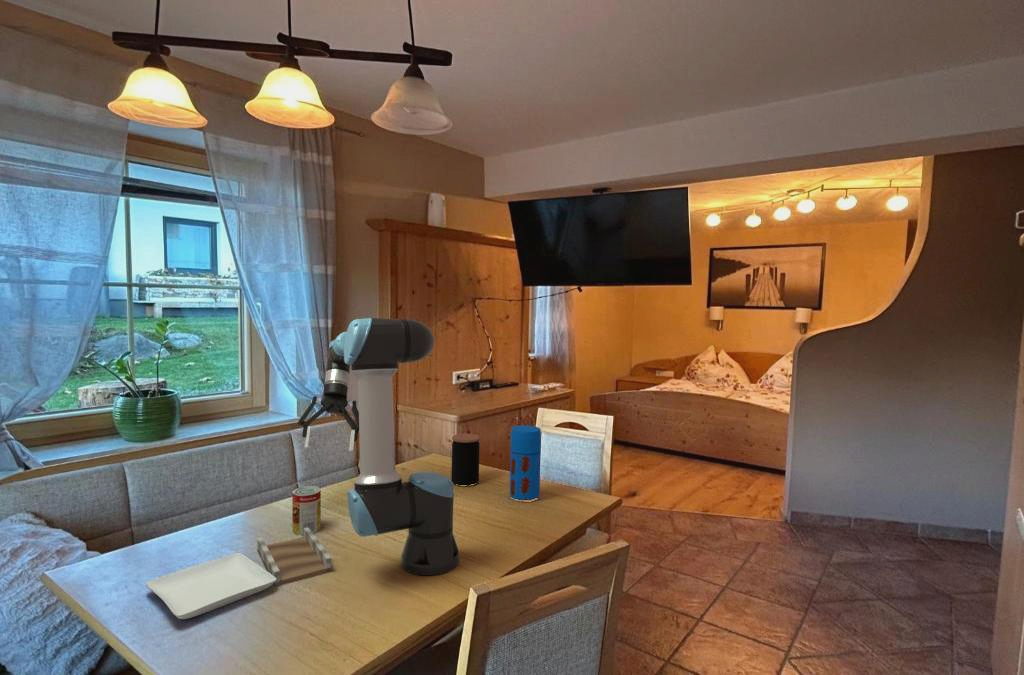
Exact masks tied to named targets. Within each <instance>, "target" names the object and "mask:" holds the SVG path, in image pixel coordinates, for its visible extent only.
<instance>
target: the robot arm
mask: <svg viewBox="0 0 1024 675" xmlns="http://www.w3.org/2000/svg"><path fill="white" fill-rule="evenodd" d="M434 348H435V335H434V332H433V331H432V330H431V328H430V327H429V326H427V325H426V324H425V323H423V322H421V321H418V320H415V319H411V318H381V317H380V318H376V317H375V318H374V317H372V318H371V317H368V318H356V319H354V320H352V321H351V322H350V323H349V325H348V328H347V329H346V331H343V332H341V333H340V334H339V335H337V336H336V338H335V339H333V340H331V341H330V343H329V346H328V350H327V361H326V368H325V369H326V371H325V378H324V386H323V391H322V398H321V397H317V396H316V395H315V396H313V397H312V399H311V403H310V404H309V406H308V407H307V408H306V410H304V413H302V415H301V417H300V419H298V422H297V425H298V426H301V427H302V432H301V433H302V434H301V435H302V438H304V448H303V450H307V449H308V448H309V442H310V433H311V426H310V425H312V423H314V422H315V421H316V420H317V419H319V417H320V416H321V415H322V414H324V413H327V414H335V415H338V414H340V415H341V416H342V417H343V419H344V420H345V421H346V423H347V424H348V425H349V427H350V428H351V429H352V430H351V431H350V437H349V438H350V440H349V448H348V452H349V453H352V452H353V451H354V444H355V442H357V441H358V437H359V458H360V459H359V463H360V464H359V467H360V469H359V470H360V474H359V475H358V476H357V477H356V478H355V479H354V484H353V486H354V488H351V489H349V490H348V492H347V507H348V514H349V517H350V521H351V525H352V528H353V529H354V532H355V533H356V534H357V535H358V536H359V537H371V536H375V537H376V536H378V535H383V534H389V533H393V532H398V531H404V530H408V532H407V533H408V534H407V536H406V540H405V543H404V546H403V550H402V552H401V558H400V559H401V562H400V565H401V567H402V568H403V569H404V570H405V571H407V572H408V573H410V574H414V575H419V576H436V575H437V576H438V575H442V574H444V573H448V572H450V571H452V570H454V568H456V567H457V566H458V564H459V562H460V551H459V547H458V545H457V542H456V541H457V540H456V538H455V535H454V530H453V529H454V498H455V494H454V484H453V482H452V480H451V478H450V477H448V476H447V475H444V474H441V473H438V472H432V471H417V472H414V473H411V474H409V476H408V479H407V480H408V481H403V479H402V475H401V474H399V473H398V471H397V470H396V452H395V451H396V449H395V448H396V446H395V418H394V417H395V416H394V391H393V390H394V386H393V383H394V382H393V377H394V375H395V374H396V373H397V372H398V371H399V364H407V363H413V362H414V363H415V362H417V361H421V360H423V359H425V358H427V357H428V356H429V355H430V354H431V353H432V351H433V349H434ZM350 368H351V373H352V374H353V375H354V376H355V377H356V378H357V393H358V407H357V400H353V401H348V398H347V397H348V389H349V381H350V380H349V379H350ZM319 403H320V405H321V406H322V407H321V408H320V409H319V410H318V411H316V412H315V413H314V414H313V415H312V416H310V417H309V419H308V420H306V419H307V417H308V416H309V414H310V413H311V411H312V410H313V409H314V407H315V405H318V404H319ZM347 406H348V407H349V409H351V412H352V415H353V417H354V419H353V418H352V416H350V414H349V412H348V411H347V410H348V409H346V407H347ZM305 420H306V421H305Z"/></svg>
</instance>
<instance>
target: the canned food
mask: <svg viewBox="0 0 1024 675" xmlns="http://www.w3.org/2000/svg"><path fill="white" fill-rule="evenodd" d="M321 490H322V489H321V488H320V487H319V486H313V485H312V486H311V485H309V486H307V485H306V486H300V487H297V488H295V489H294V490H292V493H291V494H292V510H291V511H292V514H291V515H292V522H291V524H292V525H291V526H292V533H293V534H294V535H296V536H304V528H309V529H310V530H311V532H312V533H313V534H316V533H318V532H320V530H321V528H322V527H321V526H322V524H321V521H322V520H321V517H322V516H321V515H322V514H321V513H322V512H321V511H322V510H321V509H322V506H321V505H322V502H321V501H322V500H321V498H322V497H321V496H322V493H321V492H322V491H321ZM317 531H318V532H317Z"/></svg>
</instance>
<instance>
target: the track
mask: <svg viewBox="0 0 1024 675" xmlns="http://www.w3.org/2000/svg"><path fill="white" fill-rule="evenodd" d="M256 540H257V541H256V542H257V543H256V545H257V547H256V548H257V550H256V551H257V554H258V555H259V558H260V559H261V562H262V563H263V566H264V569H265V570H266V571H267V572H269V573H270V574H272V575H273V576H274V577H275V578H276V581H275V582H274V583H273V584H272V586H274V587H278V586H281V585H285V584H289V583H292V582H296V581H300V580H303V579H307V578H310V577H315V576H318V575H322V574H327V573H330V572H332V556H331V555H330V554H329V553H328V552H327V550H326V548H324V546H323V545H322V543H321V542H320V541H319V540H318V538H317V537H316V536H315V533H312V532H311V530H310V529H309V528H304V535H303V536H302V537H297V538H293V539H289V540H284V541H279V542H274V543H270V544H266V541H265V540H264V539H263V537H257V538H256Z"/></svg>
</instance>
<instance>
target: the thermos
mask: <svg viewBox="0 0 1024 675" xmlns="http://www.w3.org/2000/svg"><path fill="white" fill-rule="evenodd" d="M541 448H542V430H541V427H538V426H533V425H516V426H513V427H511V431H510V454H509V455H510V459H509V461H510V462H509V464H510V466H509V467H510V468H509V497H510V496H511V497H512V498H514V499H518V500H532V499H535V498H538V496H539V497H540V489H541V488H540V486H541V457H542V456H541Z"/></svg>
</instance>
